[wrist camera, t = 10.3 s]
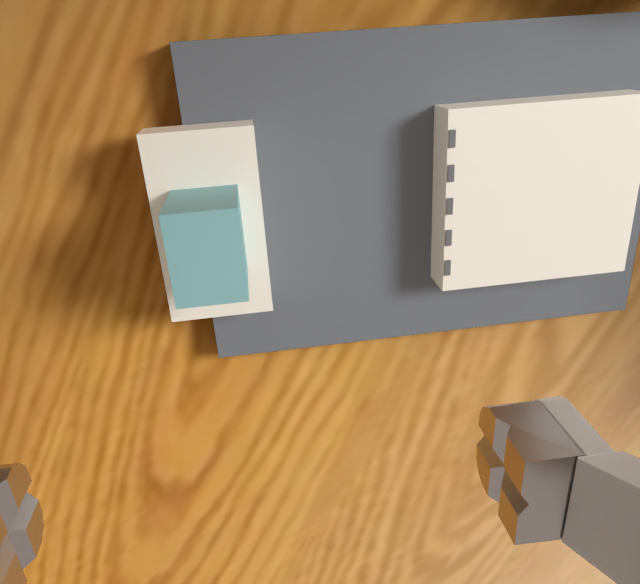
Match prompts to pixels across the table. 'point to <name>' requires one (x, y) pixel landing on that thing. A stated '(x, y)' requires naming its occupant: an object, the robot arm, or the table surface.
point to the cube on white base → (207, 218)
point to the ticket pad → (533, 187)
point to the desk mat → (387, 166)
